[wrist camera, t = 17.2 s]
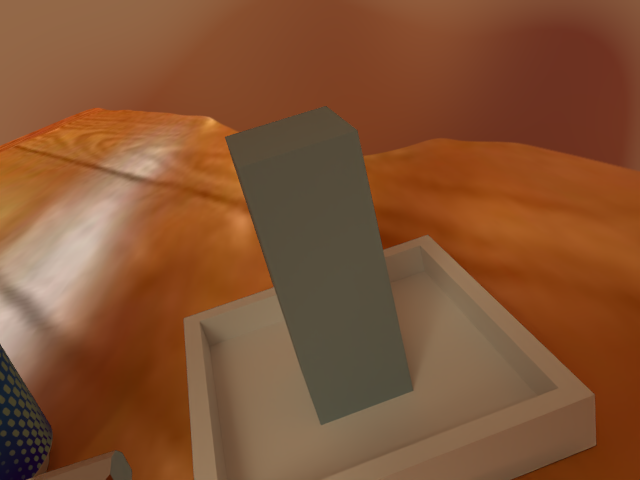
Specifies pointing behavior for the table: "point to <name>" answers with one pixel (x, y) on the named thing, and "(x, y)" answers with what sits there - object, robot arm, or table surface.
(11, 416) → the beer can
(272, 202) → the slate block
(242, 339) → the bin
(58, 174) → the table surface
